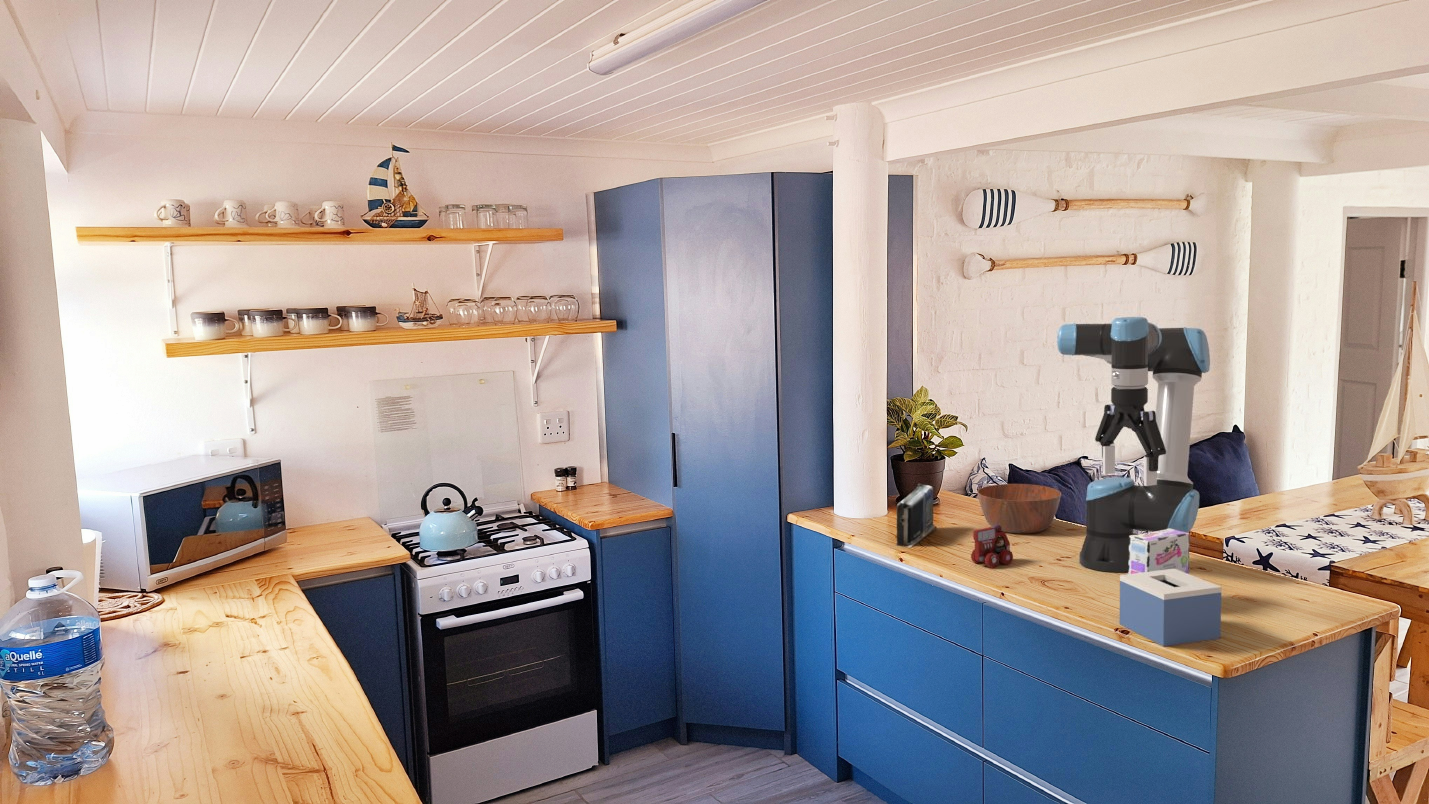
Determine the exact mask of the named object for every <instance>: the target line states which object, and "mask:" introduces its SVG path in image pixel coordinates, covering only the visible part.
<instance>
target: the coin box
mask: <svg viewBox="0 0 1429 804" xmlns="http://www.w3.org/2000/svg"><path fill="white" fill-rule="evenodd" d="M1221 619H1222V586H1221V585H1218V584H1216V583H1213V582H1210V581H1208V580H1204V579H1202V578H1200V577H1196V576H1194V575H1192V574H1190V573H1189V574H1187V573H1185V572H1182V571H1179V570H1177V569H1167V570H1158V571H1150V572H1142V573H1134V574H1128V573H1127V574H1120V575H1119V625H1121V626H1123V627H1124V628H1126V629H1128V630H1131V631H1132V632H1133V633H1137V634H1139V635H1140V636H1142V637H1144V638H1147V640H1150V641H1152V642H1154V643H1156V644H1158V645H1160V646H1162V647H1169V646H1174V645H1175V646H1176V645H1182V644H1188V643H1189V644H1190V643H1195V642H1196V643H1197V642H1202V641H1203V642H1204V641H1210V640H1211V641H1212V640H1216V639H1217V640H1218V639H1221V632H1222V631H1221V630H1222V629H1221V626H1222V624H1221V623H1222V622H1221Z"/></svg>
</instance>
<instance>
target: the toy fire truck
mask: <svg viewBox="0 0 1429 804" xmlns="http://www.w3.org/2000/svg"><path fill="white" fill-rule="evenodd" d="M972 534H973V535H972V537H973V540H974V541H973V542H974V549H973V550H972V552H971V554H970V558H971V561H972V562H973V563H974V564H981V563H985V565H986V567H988V568H992V569H995V568H997V566H998V564H999V562H1000V563H1001V564H1003V565H1005V566H1007V565H1010V564H1011V563H1012V562H1013V560H1014V554H1013V552H1012V551H1011V543H1010V540H1009V538H1008V536H1007V532H1004V531H1002V528H1001V526H1000V525H995V526H994V528H993V527H991V526H989V527H984V528H979V529H975V530H973V533H972Z"/></svg>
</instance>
